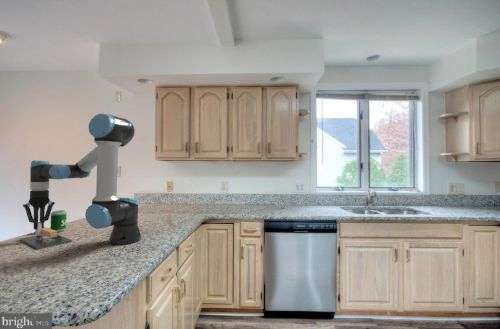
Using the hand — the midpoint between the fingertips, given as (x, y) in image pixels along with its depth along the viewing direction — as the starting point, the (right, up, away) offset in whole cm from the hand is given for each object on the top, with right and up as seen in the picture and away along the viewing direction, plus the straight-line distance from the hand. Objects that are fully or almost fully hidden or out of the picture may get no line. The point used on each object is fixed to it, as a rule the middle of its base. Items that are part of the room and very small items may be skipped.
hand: (38, 235), depth 127 cm
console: (+4, -3, 0) cm, 5 cm away
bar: (+3, 0, +1) cm, 3 cm away
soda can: (-6, -4, +20) cm, 21 cm away
